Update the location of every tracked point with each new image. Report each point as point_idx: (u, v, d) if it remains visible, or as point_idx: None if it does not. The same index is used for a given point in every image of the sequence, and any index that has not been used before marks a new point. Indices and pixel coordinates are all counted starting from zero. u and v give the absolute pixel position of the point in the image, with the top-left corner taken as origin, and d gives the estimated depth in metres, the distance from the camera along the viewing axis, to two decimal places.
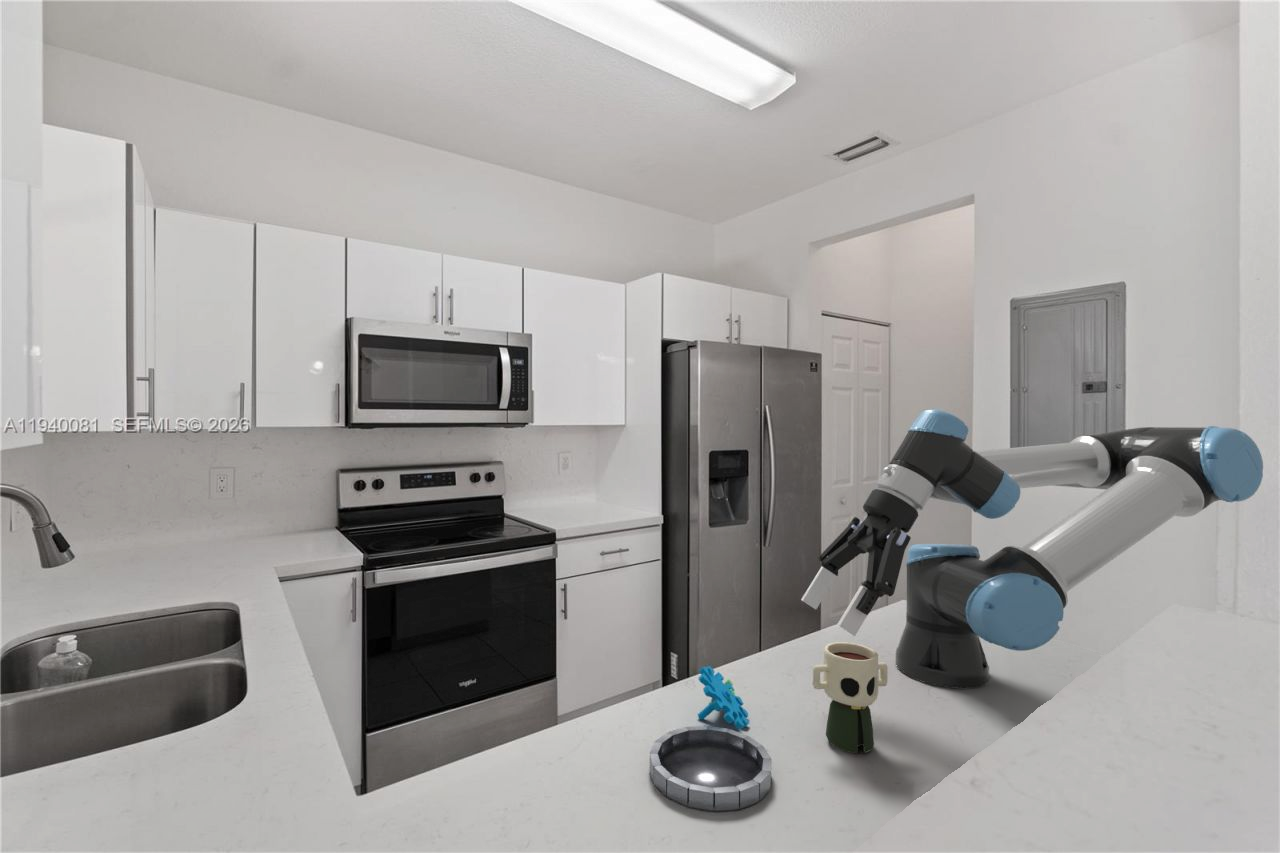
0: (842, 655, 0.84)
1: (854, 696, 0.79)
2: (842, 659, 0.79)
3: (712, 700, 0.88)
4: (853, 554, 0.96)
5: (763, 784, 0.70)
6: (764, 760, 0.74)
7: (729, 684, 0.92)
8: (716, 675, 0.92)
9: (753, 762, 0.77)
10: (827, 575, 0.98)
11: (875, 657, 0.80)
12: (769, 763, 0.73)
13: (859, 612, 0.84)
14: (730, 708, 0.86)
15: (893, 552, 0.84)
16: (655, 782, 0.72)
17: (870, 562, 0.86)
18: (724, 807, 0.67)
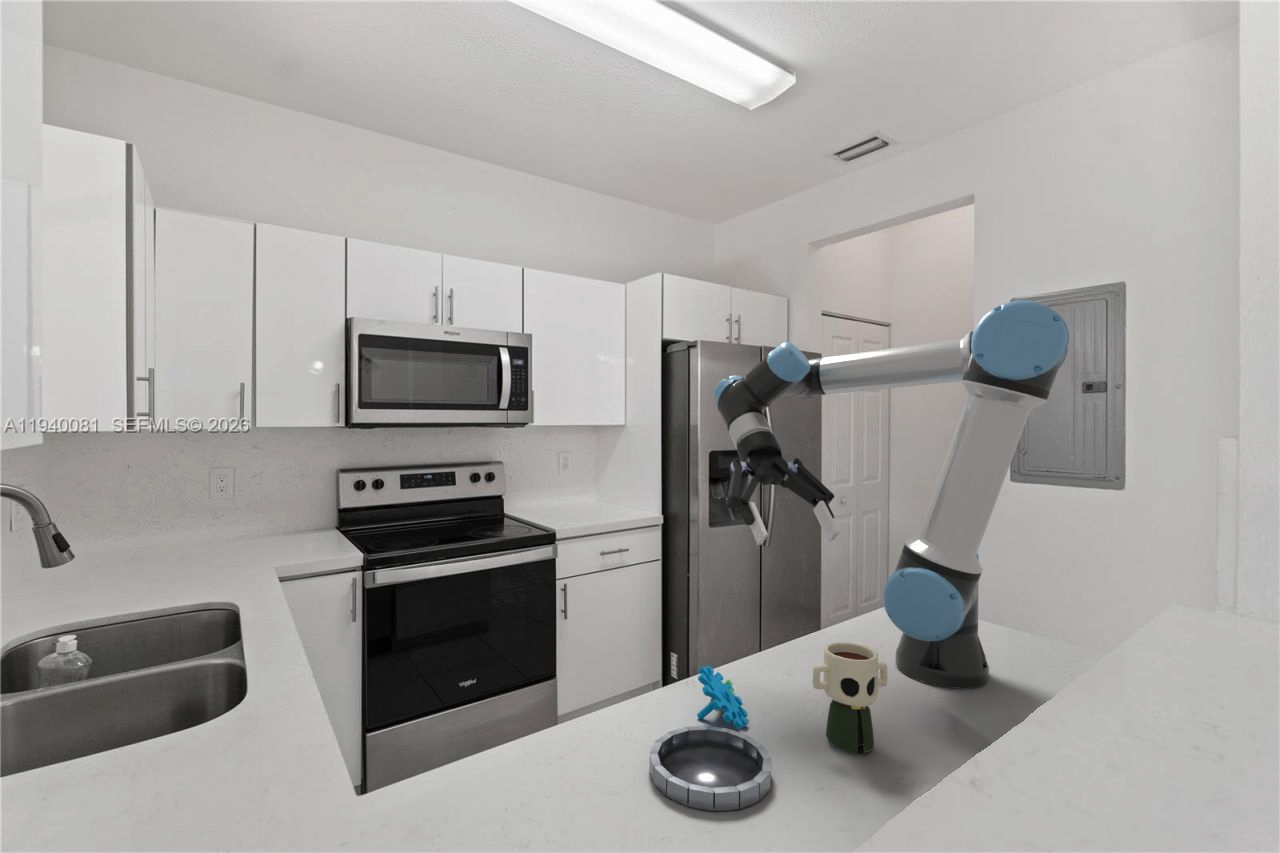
0: (842, 655, 0.84)
1: (854, 696, 0.79)
2: (842, 659, 0.79)
3: (711, 700, 0.88)
4: (796, 484, 1.05)
5: (763, 784, 0.70)
6: (764, 760, 0.74)
7: (729, 684, 0.92)
8: (716, 675, 0.92)
9: (753, 762, 0.77)
10: (818, 509, 1.03)
11: (875, 657, 0.80)
12: (769, 763, 0.73)
13: (754, 523, 0.96)
14: (729, 708, 0.86)
15: (731, 479, 1.03)
16: (655, 782, 0.72)
17: None
18: (724, 807, 0.67)
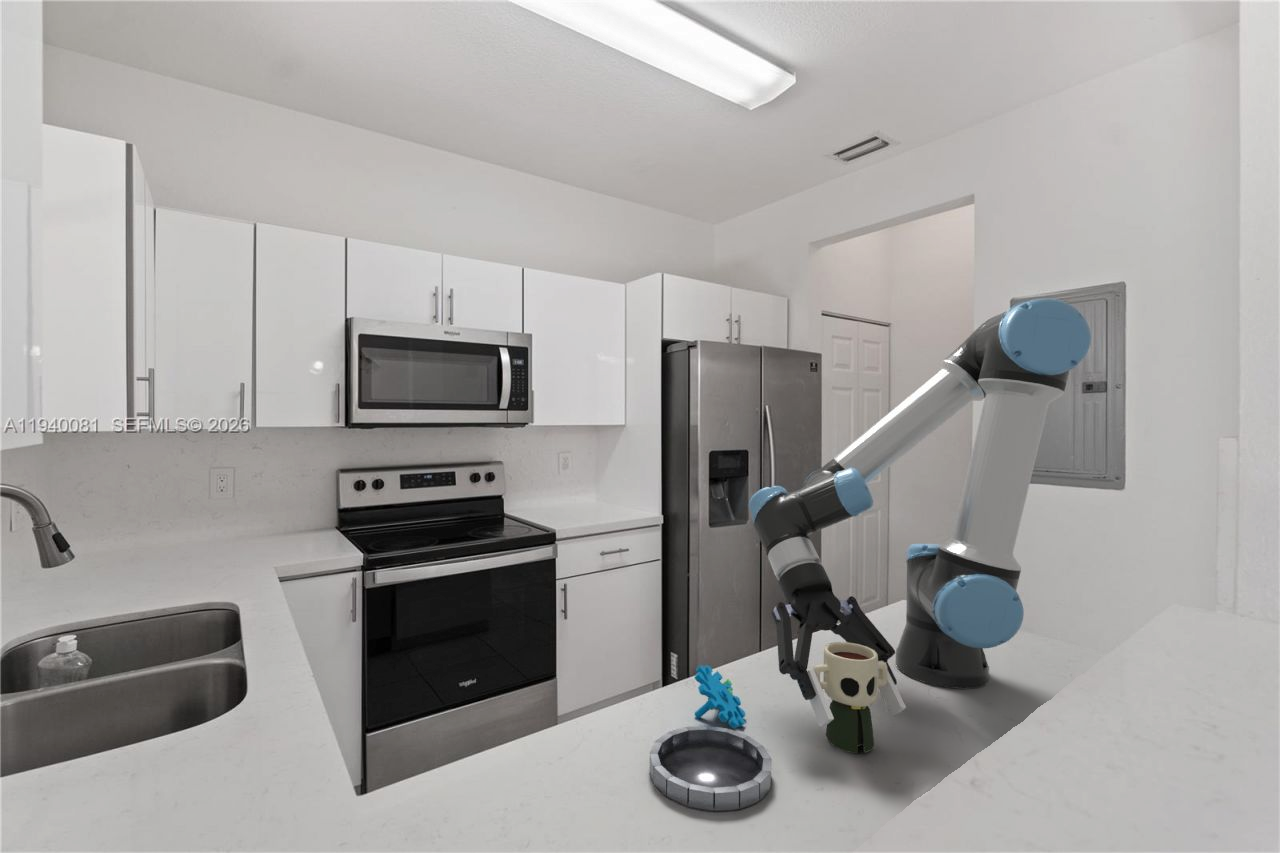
0: (842, 655, 0.84)
1: (854, 696, 0.79)
2: (842, 659, 0.79)
3: (708, 699, 0.88)
4: (849, 633, 0.88)
5: (763, 784, 0.70)
6: (764, 760, 0.74)
7: (728, 684, 0.92)
8: (714, 674, 0.92)
9: (753, 762, 0.77)
10: None
11: (875, 657, 0.80)
12: (769, 763, 0.73)
13: (815, 698, 0.80)
14: (725, 707, 0.86)
15: (778, 631, 0.86)
16: (655, 782, 0.72)
17: None
18: (724, 807, 0.67)
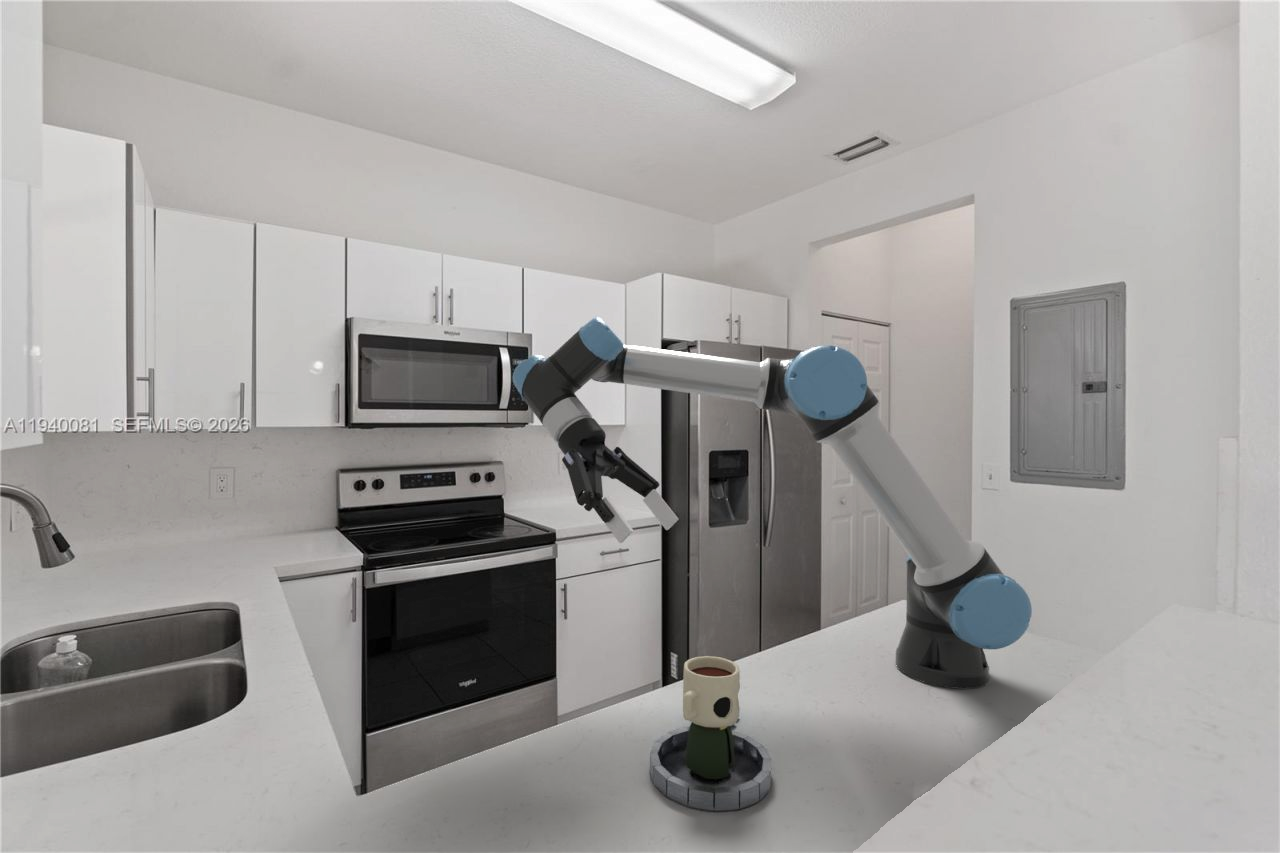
0: (698, 673, 0.76)
1: (727, 715, 0.72)
2: (716, 679, 0.71)
3: None
4: (626, 474, 0.98)
5: (763, 784, 0.70)
6: (764, 760, 0.74)
7: None
8: None
9: (753, 762, 0.77)
10: (650, 498, 0.99)
11: (737, 667, 0.75)
12: (769, 763, 0.73)
13: (613, 519, 0.86)
14: None
15: (572, 472, 0.89)
16: (655, 782, 0.72)
17: None
18: (724, 807, 0.67)
